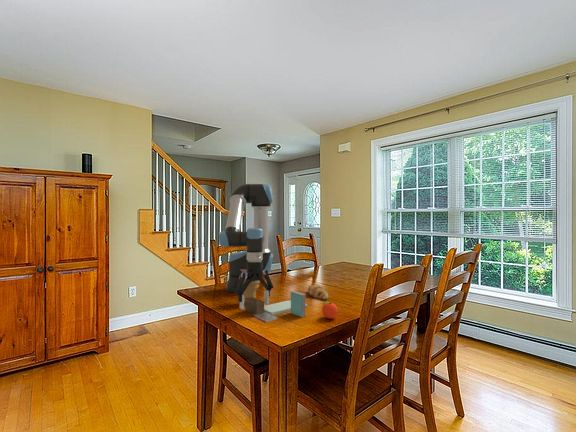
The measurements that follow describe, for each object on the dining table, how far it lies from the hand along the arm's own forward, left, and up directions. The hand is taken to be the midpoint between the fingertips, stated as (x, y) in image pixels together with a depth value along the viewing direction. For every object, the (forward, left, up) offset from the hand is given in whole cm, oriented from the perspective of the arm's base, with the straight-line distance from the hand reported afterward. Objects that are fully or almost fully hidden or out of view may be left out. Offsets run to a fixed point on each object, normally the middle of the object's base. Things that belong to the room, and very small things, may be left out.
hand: (254, 306), depth 143 cm
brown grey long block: (+4, 0, -3) cm, 5 cm away
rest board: (+3, +15, -3) cm, 16 cm away
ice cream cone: (-14, +6, -3) cm, 16 cm away
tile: (+15, +14, -3) cm, 21 cm away
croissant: (-3, +44, -3) cm, 45 cm away
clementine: (+27, +22, -3) cm, 35 cm away
